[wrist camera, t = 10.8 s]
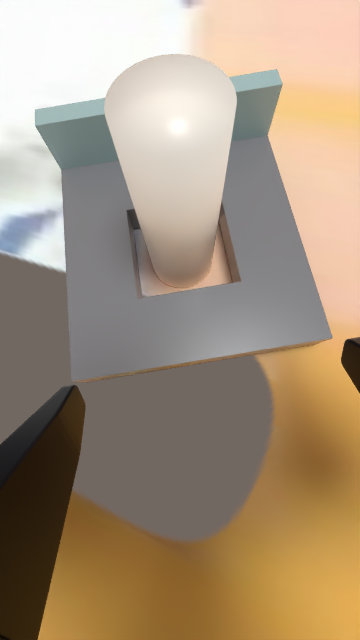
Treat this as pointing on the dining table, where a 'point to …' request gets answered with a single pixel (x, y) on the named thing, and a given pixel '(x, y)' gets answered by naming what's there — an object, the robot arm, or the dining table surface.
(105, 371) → the housing
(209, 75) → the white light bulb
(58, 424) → the robot arm
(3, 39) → the dining table surface
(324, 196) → the dining table surface
